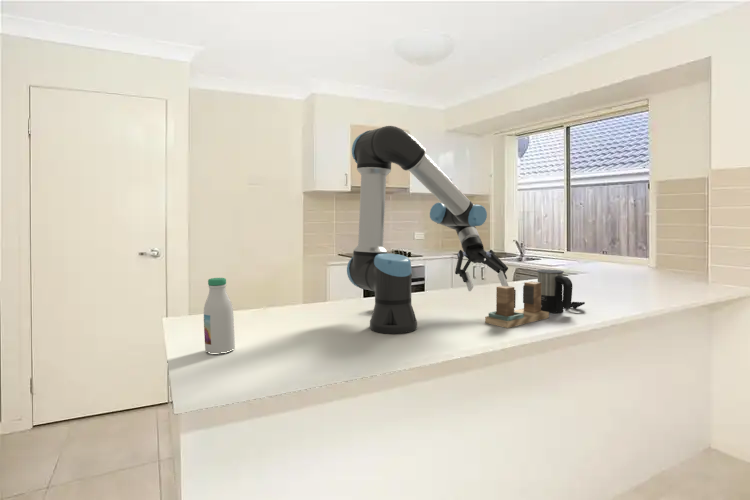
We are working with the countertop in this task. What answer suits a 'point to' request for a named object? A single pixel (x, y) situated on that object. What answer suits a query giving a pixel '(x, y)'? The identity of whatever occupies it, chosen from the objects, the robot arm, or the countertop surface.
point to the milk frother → (555, 291)
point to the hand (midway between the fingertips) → (488, 288)
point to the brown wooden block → (505, 300)
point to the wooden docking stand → (522, 315)
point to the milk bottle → (218, 318)
